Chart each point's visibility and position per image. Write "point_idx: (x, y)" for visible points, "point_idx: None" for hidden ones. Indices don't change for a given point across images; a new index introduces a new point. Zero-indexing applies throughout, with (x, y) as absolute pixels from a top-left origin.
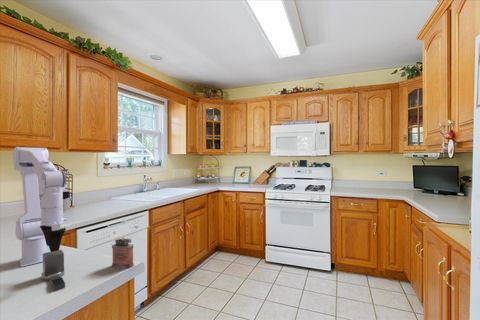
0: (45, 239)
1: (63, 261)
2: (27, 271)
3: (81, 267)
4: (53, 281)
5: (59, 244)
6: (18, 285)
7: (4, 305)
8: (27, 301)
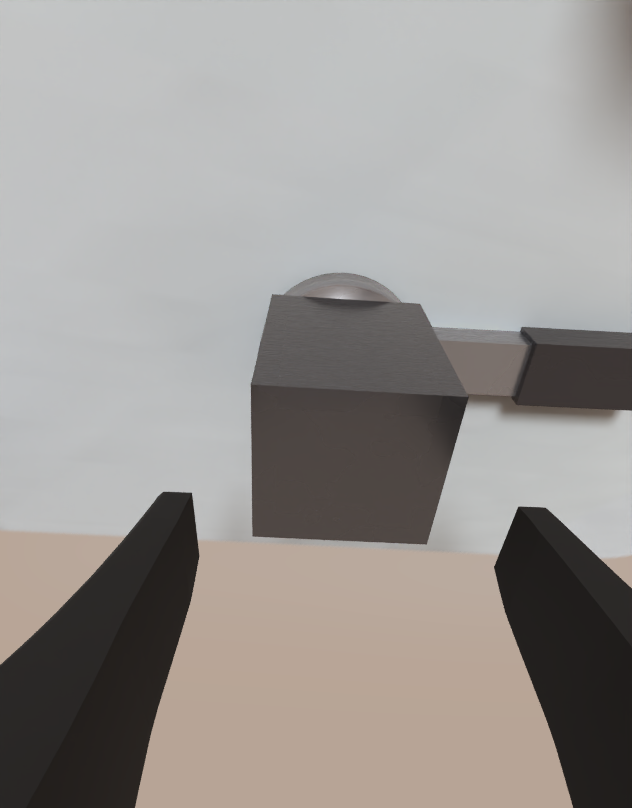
0: (166, 668)
1: (441, 349)
2: (80, 448)
3: (334, 99)
4: (551, 399)
5: (610, 576)
6: None
7: None
8: (591, 496)
